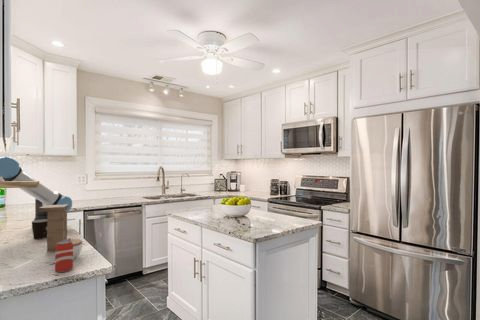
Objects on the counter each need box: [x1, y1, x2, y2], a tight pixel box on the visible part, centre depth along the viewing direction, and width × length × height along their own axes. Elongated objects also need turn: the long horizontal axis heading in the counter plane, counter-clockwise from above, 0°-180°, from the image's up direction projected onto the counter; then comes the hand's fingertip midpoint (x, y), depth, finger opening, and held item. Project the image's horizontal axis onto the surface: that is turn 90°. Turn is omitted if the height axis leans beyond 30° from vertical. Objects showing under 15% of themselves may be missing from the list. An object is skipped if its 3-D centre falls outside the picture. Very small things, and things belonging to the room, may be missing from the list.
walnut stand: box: [39, 204, 69, 253], centre depth 146 cm, size 9×11×22 cm
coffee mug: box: [31, 219, 47, 240], centre depth 170 cm, size 12×9×10 cm
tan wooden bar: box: [0, 180, 40, 189], centre depth 140 cm, size 4×24×3 cm, turn 108°
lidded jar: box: [56, 237, 83, 260], centre depth 133 cm, size 11×11×9 cm
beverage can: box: [54, 239, 74, 273], centre depth 119 cm, size 6×6×12 cm
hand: (0, 179), depth 139 cm, fingers closed on tan wooden bar, 4 cm apart
